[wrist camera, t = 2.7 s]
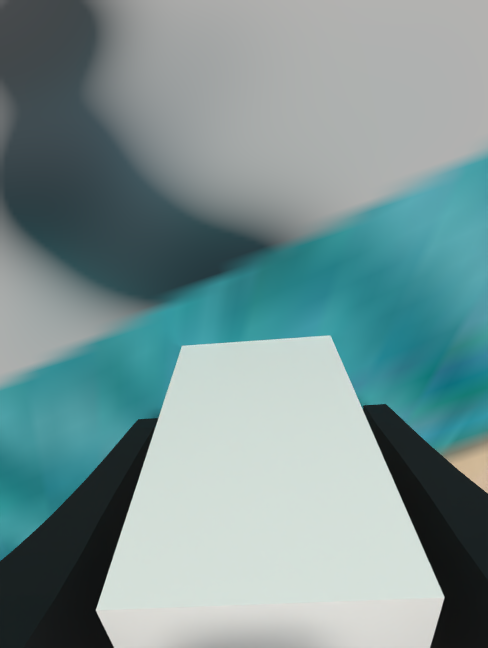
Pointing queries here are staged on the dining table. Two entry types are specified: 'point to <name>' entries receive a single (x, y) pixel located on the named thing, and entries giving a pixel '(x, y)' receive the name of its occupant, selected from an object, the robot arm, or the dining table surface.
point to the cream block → (267, 514)
